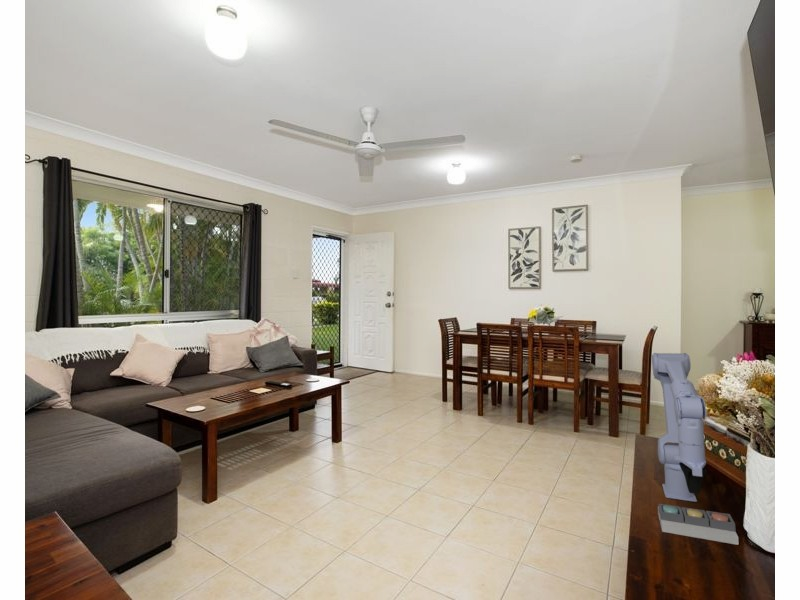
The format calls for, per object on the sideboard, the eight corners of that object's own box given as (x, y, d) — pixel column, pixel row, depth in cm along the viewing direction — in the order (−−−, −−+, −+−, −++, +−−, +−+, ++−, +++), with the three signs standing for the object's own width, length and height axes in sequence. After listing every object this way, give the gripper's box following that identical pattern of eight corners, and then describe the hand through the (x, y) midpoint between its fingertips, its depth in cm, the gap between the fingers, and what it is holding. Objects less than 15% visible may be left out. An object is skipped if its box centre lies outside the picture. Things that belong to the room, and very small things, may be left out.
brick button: (710, 518, 111) (710, 511, 111) (726, 520, 110) (726, 513, 110) (713, 524, 108) (713, 517, 108) (730, 527, 107) (729, 520, 107)
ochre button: (686, 514, 114) (685, 507, 114) (701, 517, 112) (701, 509, 112) (688, 520, 111) (688, 513, 111) (704, 523, 109) (703, 516, 109)
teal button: (662, 511, 116) (662, 504, 116) (677, 513, 115) (676, 506, 115) (664, 516, 113) (663, 509, 113) (679, 519, 112) (678, 512, 112)
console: (658, 513, 119) (657, 499, 119) (728, 524, 112) (727, 509, 112) (662, 531, 110) (661, 516, 110) (738, 544, 103) (737, 528, 103)
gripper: (669, 432, 120) (672, 479, 120) (677, 449, 107) (680, 502, 107) (699, 434, 117) (701, 482, 117) (711, 452, 104) (713, 507, 104)
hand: (693, 492), depth 111 cm, fingers closed
